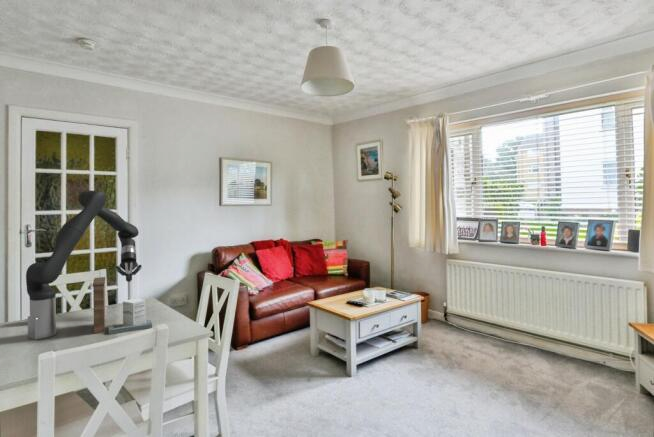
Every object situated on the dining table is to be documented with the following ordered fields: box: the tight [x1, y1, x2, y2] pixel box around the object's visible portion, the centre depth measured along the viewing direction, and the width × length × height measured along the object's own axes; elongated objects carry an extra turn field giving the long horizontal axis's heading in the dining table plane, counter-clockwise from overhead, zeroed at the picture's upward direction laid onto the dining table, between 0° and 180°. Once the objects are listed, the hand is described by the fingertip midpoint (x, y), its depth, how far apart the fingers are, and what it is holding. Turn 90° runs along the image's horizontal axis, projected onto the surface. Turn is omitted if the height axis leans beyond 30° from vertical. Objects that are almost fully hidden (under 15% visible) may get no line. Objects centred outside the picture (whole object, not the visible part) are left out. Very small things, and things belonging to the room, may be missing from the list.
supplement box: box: [122, 297, 147, 327], centre depth 176 cm, size 7×7×13 cm
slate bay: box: [108, 319, 153, 335], centre depth 172 cm, size 7×18×2 cm, turn 121°
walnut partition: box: [91, 276, 106, 335], centre depth 172 cm, size 17×5×23 cm, turn 30°
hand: (129, 280), depth 189 cm, fingers closed
